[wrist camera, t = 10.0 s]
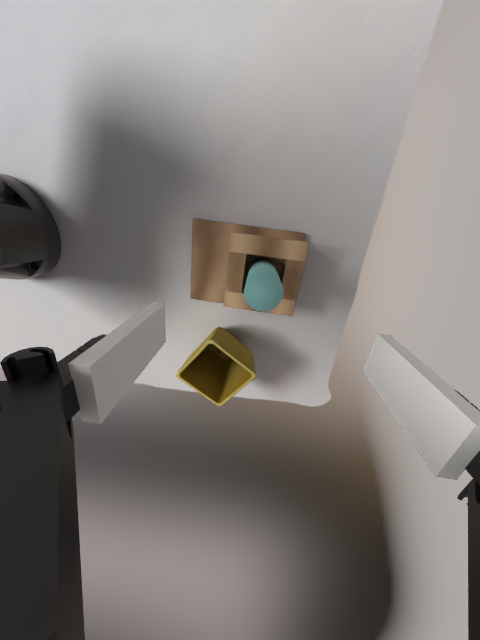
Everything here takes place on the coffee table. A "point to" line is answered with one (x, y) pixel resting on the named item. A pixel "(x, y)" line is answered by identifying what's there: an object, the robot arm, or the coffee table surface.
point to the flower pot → (218, 367)
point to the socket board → (218, 256)
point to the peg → (263, 286)
